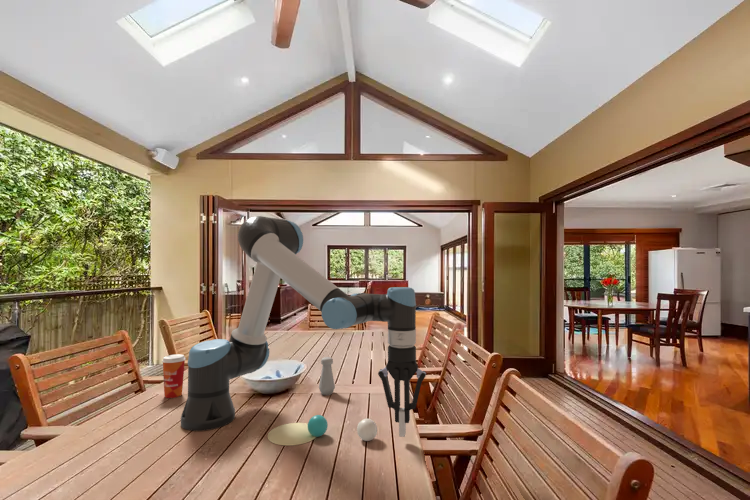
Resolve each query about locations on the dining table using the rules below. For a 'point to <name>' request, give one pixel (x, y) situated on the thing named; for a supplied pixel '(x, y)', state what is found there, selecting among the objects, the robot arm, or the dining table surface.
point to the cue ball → (367, 429)
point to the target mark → (290, 434)
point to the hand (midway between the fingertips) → (402, 434)
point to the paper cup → (173, 375)
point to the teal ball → (317, 425)
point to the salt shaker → (326, 377)
